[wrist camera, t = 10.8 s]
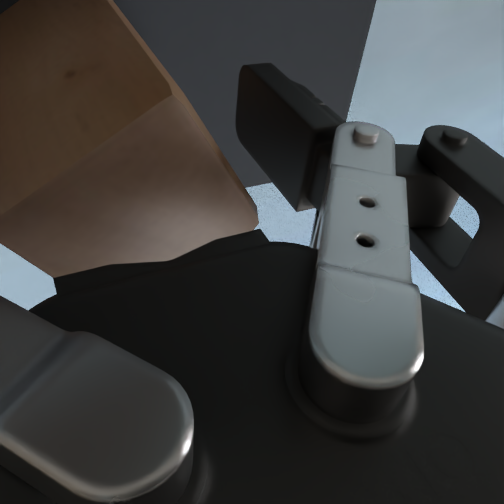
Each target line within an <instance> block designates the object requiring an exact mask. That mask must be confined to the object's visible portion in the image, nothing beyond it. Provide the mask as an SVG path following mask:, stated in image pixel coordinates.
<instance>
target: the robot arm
mask: <svg viewBox="0 0 504 504" xmlns="http://www.w3.org/2000/svg"><path fill="white" fill-rule="evenodd" d="M235 126H236V133H237V136H238V139H239V141H240V143H241V144H242V145H243V147H244V148H245V149H246V150H247V152H248V153H249V154H250V155H251V156H252V158H253V159H254V160H255V161H256V163H257V164H258V165H259V166H260V168H261V169H262V170H263V171H264V172H265V174H266V175H267V176H268V177H269V179H270V180H271V181H272V182H273V184H274V185H275V186H276V187H277V188H278V190H279V191H280V192H281V193H282V195H283V196H284V197H285V198H286V200H287V201H288V202H289V203H290V204H291V206H292V207H293V208H294V209H295V211H296V212H299V211H303V210H308V209H312V208H316V209H317V210H316V214H315V218H314V223H313V229H312V234H311V240H310V245H309V247H308V246H304V245H300V244H295V243H288V242H269V240H268V239H267V237H266V236H265V235H264V233H263V232H262V230H261V229H257V230H253V231H249V232H244V233H240V234H236V235H232V236H228V237H223V238H219V239H215V240H213V241H211V242H209V243H207V244H205V245H202V246H200V247H198V248H196V249H194V250H192V251H190V252H188V253H186V254H183V255H181V256H179V257H177V258H175V259H172V260H169V261H159V262H141V263H124V264H110V265H105V266H101V267H97V268H93V269H89V270H84V271H80V272H76V273H72V274H67V275H63V276H59V277H55V278H53V279H54V284H55V288H56V292H57V294H56V295H54V296H52V297H50V298H48V299H46V300H44V301H43V302H41V303H39V304H37V305H36V306H34V307H33V308H31V309H30V310H29V311H28V310H26V309H24V308H22V307H20V306H18V305H17V304H15V303H13V302H11V301H9V300H7V299H6V298H4V297H2V296H0V504H504V158H503V157H502V156H501V155H499V154H498V153H497V152H495V151H494V150H493V149H491V148H490V147H489V146H487V145H486V144H485V143H483V142H482V141H481V140H479V139H478V138H477V137H475V136H474V135H472V134H470V133H469V132H467V131H464V130H462V129H459V128H456V127H451V126H445V125H436V126H431V127H428V128H427V129H426V130H425V131H424V134H423V136H422V139H421V142H420V144H419V145H407V144H395V141H394V138H393V136H392V135H391V134H390V133H389V132H388V131H386V130H385V129H383V128H381V127H379V126H377V125H374V124H370V123H366V122H357V121H355V122H345V121H344V120H343V119H342V118H341V117H340V116H339V115H337V114H336V113H335V112H334V111H333V110H332V109H330V108H329V107H328V106H327V105H324V102H322V101H321V100H320V99H319V98H316V96H315V95H314V94H313V93H312V92H311V91H310V90H309V89H307V88H306V87H305V86H303V85H301V84H299V83H296V82H294V81H292V80H290V79H289V78H288V77H287V76H286V75H284V74H283V73H282V72H281V71H280V70H279V69H278V68H276V67H275V66H274V65H273V64H272V63H260V64H249V65H243V66H242V67H241V69H240V73H239V81H238V93H237V106H236V118H235ZM459 196H461V197H462V198H463V199H465V200H466V201H467V202H468V203H469V204H470V205H471V206H472V207H474V209H475V210H476V211H477V213H478V216H479V220H480V224H479V229H478V231H477V233H476V234H475V236H474V238H473V239H472V238H471V237H470V236H469V235H468V234H467V233H466V232H465V231H464V230H463V229H462V228H461V227H460V226H459V225H458V224H457V223H455V222H454V221H453V220H452V219H451V218H450V217H449V216H450V214H451V212H452V210H453V208H454V206H455V204H456V202H457V200H458V198H459ZM410 250H411V251H412V252H413V253H414V254H415V255H416V257H417V258H418V259H419V260H420V261H421V262H422V263H423V264H424V266H425V267H426V268H427V269H428V270H429V271H430V272H431V273H432V275H433V276H434V277H435V278H436V279H437V280H438V281H439V282H440V284H441V285H442V286H443V287H444V288H445V289H446V290H447V291H448V293H449V294H450V295H451V296H452V297H453V298H454V299H455V300H456V302H457V303H458V304H459V305H460V306H461V307H462V308H463V309H464V310H465V312H463V311H461V310H459V309H456V308H454V307H452V306H449V305H447V304H445V303H442V302H440V301H437V300H435V299H433V298H430V297H428V296H426V295H423V294H421V293H420V291H419V288H418V286H417V285H416V284H413V282H412V279H411V262H410Z"/></svg>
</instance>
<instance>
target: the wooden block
mask: <svg viewBox="0 0 504 504" xmlns="http://www.w3.org/2000/svg"><path fill="white" fill-rule="evenodd" d="M258 223H259V221H258V213H257V206H256V204H255V203H254V201H253V200H252V198H251V196H250V195H249V193H248V192H247V190H246V189H245V187H244V186H243V184H242V182H241V181H240V179H239V178H238V176H237V175H236V173H235V172H234V170H233V169H232V167H231V165H230V164H229V162H228V161H227V159H226V158H225V156H224V155H223V153H222V152H221V150H220V148H219V147H218V145H217V144H216V142H215V141H214V139H213V138H212V136H211V134H210V133H209V131H208V130H207V128H206V127H205V125H204V124H203V122H202V121H201V119H200V117H199V116H198V114H197V113H196V111H195V110H194V108H193V107H192V105H191V103H190V102H189V100H188V99H187V97H186V96H185V94H184V93H183V91H182V90H181V89H180V87H179V86H178V85H177V84H176V82H175V81H174V80H173V78H172V77H171V76H170V74H169V73H168V72H167V70H166V69H165V68H164V67H163V65H162V64H161V63H160V61H159V60H158V59H157V57H156V56H155V55H154V53H153V52H152V51H151V50H150V48H149V47H148V46H147V44H146V43H145V42H144V40H143V39H142V38H141V37H140V35H139V34H138V33H137V31H136V30H135V29H134V27H133V26H132V25H131V23H130V22H129V21H128V20H127V18H126V17H125V16H124V14H123V13H122V12H121V10H120V9H119V8H118V6H117V5H116V4H115V3H114V1H113V0H19V1H18V2H16V3H15V4H14V5H12V6H11V7H10V8H8V9H7V10H6V11H4V12H3V13H1V14H0V243H1V244H2V245H4V246H5V247H7V248H8V249H10V250H12V251H13V252H15V253H16V254H18V255H19V256H21V257H22V258H24V259H25V260H27V261H28V262H30V263H31V264H33V265H35V266H36V267H38V268H39V269H41V270H42V271H44V272H45V273H47V274H48V275H50V276H51V277H53V278H55V277H59V276H63V275H67V274H72V273H76V272H80V271H84V270H89V269H93V268H97V267H101V266H105V265H110V264H124V263H141V262H159V261H169V260H172V259H175V258H177V257H179V256H181V255H183V254H186V253H188V252H190V251H192V250H194V249H196V248H198V247H200V246H202V245H205V244H207V243H209V242H211V241H213V240H215V239H219V238H223V237H228V236H232V235H236V234H240V233H244V232H249V231H253V230H254V229H255V227H256V226H257V225H258Z"/></svg>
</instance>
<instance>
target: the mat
mask: <svg viewBox="0 0 504 504" xmlns="http://www.w3.org/2000/svg"><path fill="white" fill-rule="evenodd" d="M18 1H19V0H0V14H1V13H3V12H4V11H6V10H7V9H8V8H10V7H11V6H12V5H14V4H15V3H16V2H18ZM113 1H114V3H115V4H116V5H117V6H118V8H119V9H120V10H121V12H122V13H123V14H124V16H125V17H126V18H127V20H128V21H129V22H130V23H131V25H132V26H133V27H134V29H135V30H136V31H137V33H138V34H139V35H140V37H141V38H142V39H143V40H144V42H145V43H146V44H147V46H148V47H149V48H150V50H151V51H152V52H153V53H154V55H155V56H156V57H157V59H158V60H159V61H160V63H161V64H162V65H163V67H164V68H165V69H166V70H167V72H168V73H169V74H170V76H171V77H172V78H173V80H174V81H175V82H176V84H177V85H178V86H179V87H180V89H181V90H182V91H183V93H184V94H185V96H186V97H187V99H188V100H189V102H190V103H191V105H192V107H193V108H194V110H195V111H196V113H197V114H198V116H199V117H200V119H201V121H202V122H203V124H204V125H205V127H206V128H207V130H208V131H209V133H210V134H211V136H212V138H213V139H214V141H215V142H216V144H217V145H218V147H219V148H220V150H221V152H222V153H223V155H224V156H225V158H226V159H227V161H228V162H229V164H230V165H231V167H232V169H233V170H234V172H235V173H236V175H237V176H238V178H239V179H240V181H241V182H242V184H243V186H244V187H245V188H246V187H251V186H256V185H261V184H266V183H271V182H272V181H271V180H270V179H269V177H268V176H267V175H266V174H265V172H264V171H263V170H262V169H261V168H260V166H259V165H258V164H257V163H256V161H255V160H254V159H253V158H252V156H251V155H250V154H249V153H248V152H247V150H246V149H245V148H244V147H243V145H242V144H241V143H240V141H239V139H238V136H237V133H236V126H235V118H236V106H237V93H238V81H239V73H240V69H241V67H242V66H243V65H249V64H260V63H272V64H273V65H274V66H275V67H276V68H278V69H279V70H280V71H281V72H282V73H283V74H284V75H286V76H287V77H288V78H289V79H290V80H292V81H294V82H296V83H299V84H301V85H303V86H305V87H306V88H307V89H309V90H310V91H311V92H312V93H313V94H314V95H315V96H316V98H319V99H320V100H321V101H322V102H324V105H327V106H328V107H329V108H330V109H332V110H333V111H334V112H335V113H336V114H337V115H339V116H340V117H341V118H342V119H343V120H344V121H345V122H346V119H347V115H348V111H349V107H350V103H351V99H352V95H353V91H354V87H355V83H356V79H357V75H358V71H359V67H360V63H361V59H362V55H363V51H364V47H365V43H366V39H367V35H368V32H369V28H370V24H371V20H372V16H373V12H374V8H375V4H376V0H113Z"/></svg>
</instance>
